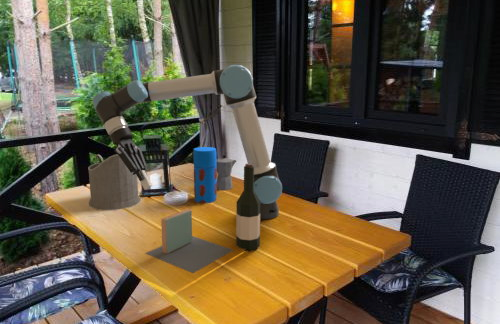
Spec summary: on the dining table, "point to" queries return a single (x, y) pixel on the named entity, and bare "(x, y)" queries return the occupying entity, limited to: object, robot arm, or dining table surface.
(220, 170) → the coffeepot
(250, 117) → the robot arm
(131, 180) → the pitcher
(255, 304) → the dining table surface
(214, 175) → the thermos
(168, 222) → the tile
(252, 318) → the dining table surface
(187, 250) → the mat
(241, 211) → the wine bottle
